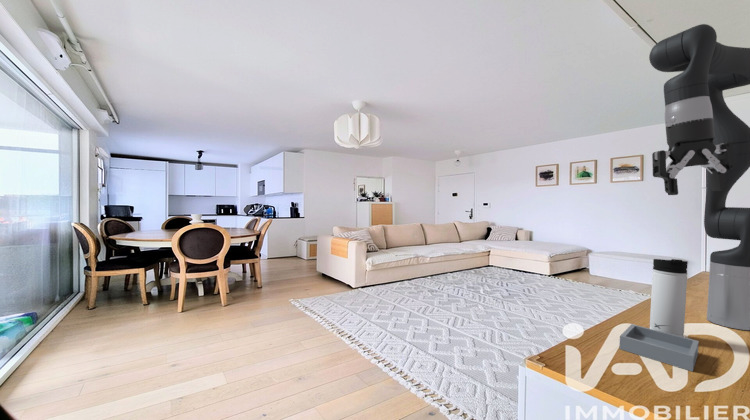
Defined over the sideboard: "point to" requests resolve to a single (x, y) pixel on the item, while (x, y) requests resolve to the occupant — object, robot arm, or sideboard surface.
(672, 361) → the tray
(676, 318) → the travel mug
